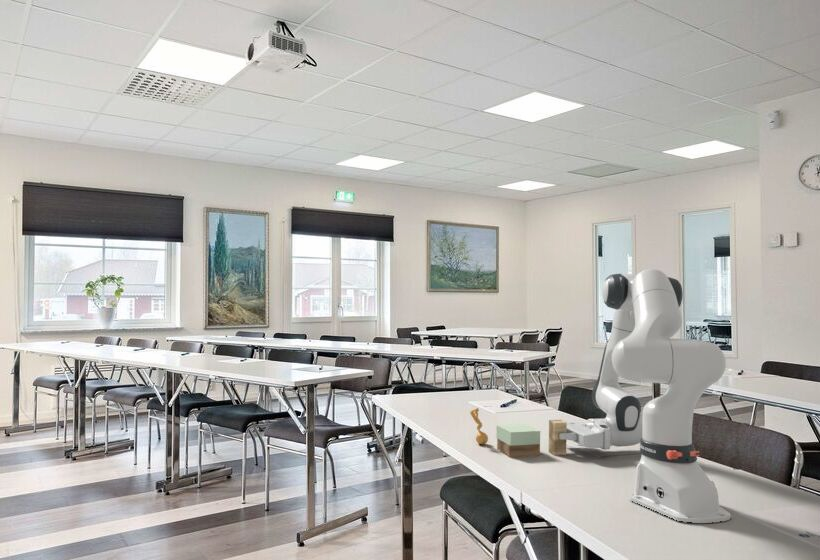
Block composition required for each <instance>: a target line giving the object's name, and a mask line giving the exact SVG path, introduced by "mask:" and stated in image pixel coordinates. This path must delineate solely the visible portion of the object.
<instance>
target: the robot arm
mask: <svg viewBox="0 0 820 560" xmlns="http://www.w3.org/2000/svg"><path fill="white" fill-rule="evenodd" d="M601 296H602V299H603V303H604V304H605V306H606V307H607V308H610V309H612V310H614V312H613V316H612V317H613V318H612V325H611V332H610V336H609V339H608V340H607V341H606V344H605V346H604V350H603V354H602V359H601V363H600V368H599V372H598V377H597V380H596V382H595V383H594V386H593V388H592V390H591V396H590V397H591V402H592V404H593V405H594V406H595V407H596V408H597V409H599V410H600V411H602V412H604V413H605V414H606V416H605V417H604V418H588V419H587V420H586V421H585V422H584V423H580V422H576V421H566V422H567V433H558V438H559V439H561V440H563V439H566V441H572V442H574V443H576V444H578V445H580V446H582V447H585V448H589V449H591V448H593V449H601V450H604V451H605V450H606V451H607V450H611V447H612V446H613V447H619V448H620V447H621V448H622V447H631V446H636V445H639V452H640V454H641V457H640V460H639V462H638V464H637V465H636V471H635V481H634V489H633V490H634V492H633V494H631V495H630V498H629V501H630V502H632V501H633V502H632V503H635V504H637V503H638V504H637V505H639V504H640V505H639V506H641V505H642V507H644V506H645V507H644V508H646V507H647V508H646V509H648V508H650V509H649V510H651V509H652V510H651V511H653V510H654V511H653V512H655V511H657V512H659V513H658V514H660V513H661V514H660V515H662V514H663V515H662V516H664V515H666V516H668V517H667V518H669V517H670V518H669V519H671V518H673V519H674V520H673V519H672V520H673V521H676V520H677V521H676V522H679V521H683V522H682V523H687V522H692V523H691V524H709V523H710V524H711V523H712V522H713V523H721V522H720V521H722V522H726V521H729V520H730V518H731V519H732V514H731V513H730V512H729V511H728V510H726V509H724V508H723V507H722V506H720V504H719V492H718V489H717V487H716V484H715V482H714V481H713V480H711V479H710V478H709V477H708V475H707V474H706V473H705V471H704V469H702V467H701V466H700V465H699V463H698V457H699V456H700V454H699V453H700V451H699V450H696V448H695V445H694V443H693V437H692V435H693V421H694V412H695V409H696V405H697V403H698V401H699V399H700V398H701V397H702V395H703V394H704V392H706V390H708V388H710V387H711V386H712V385H714V384H716V383H718V382H719V380H720V379H722V377H723V375H724V373H725V371H726V365H727V361H726V357H725V354H724V351H722V349H721V348H720V346H719V345H717V344H716V343H713V342H710V341H705V340H701V339H695V338H694V339H692V338H672V337H674V336H675V335H676V334H677V333H678V332H679V331H680V329H681V327H682V323H683V317H682V314H681V310H680V307H681V305H682V301H683V297H684V292H683V287H682V284H681V283H680V281H679V280H678V279H677V278H673V277H669V276H668V275H666V274H665V272H663V271H662V270H660V269H656V268H647V269H644V270H642V271H640V272H638V273H624V274H622V273H614V274H609V276H607V277H606V278H605V280H604V282H603V285H602V288H601ZM619 377H620V379H624V380H628V381H631V382H636V383H645V384H647V383H648V384H649V383H650V384H667V385H668V387H667V389H666V391H665V392H664V393H663V394H662V395H659V396H657V397H654V399H651V400H649V401H647V402H646V404H645V405H644V406H643V408H642V404H641V401H640V400H639V399H638V398H637V397H635V396H634V395H633V394H631V393H630V392H629V391H627V390H626V389H624V388H622V386H621V385H620V383H619V382H620V381H619ZM641 413H642V414H641ZM641 415H642V416H641ZM657 512H656V513H657ZM666 516H665V517H666Z"/></svg>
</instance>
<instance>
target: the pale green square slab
mask: <svg viewBox="0 0 820 560" xmlns="http://www.w3.org/2000/svg"><path fill="white" fill-rule="evenodd" d="M495 433H496V436H495V438H496V440H497V439H499V440H501V441H503V442H505V443H507V444H508V445H510V446H513V445H532V444H540V445H541V430H539V429H537V428H534V427H532V426H531V425H528V424H526V423H522V424H521V423H520V424H518V423H517V424H496V431H495Z"/></svg>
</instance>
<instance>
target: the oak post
mask: <svg viewBox="0 0 820 560" xmlns="http://www.w3.org/2000/svg"><path fill="white" fill-rule="evenodd" d="M567 422H568V421H565V420H562V419H549V420H548V453H549V454H551V455H553V456H566V455H567V440H566V439H563V440H561V439H559V438H558V433H567Z"/></svg>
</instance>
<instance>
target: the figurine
mask: <svg viewBox="0 0 820 560" xmlns="http://www.w3.org/2000/svg"><path fill="white" fill-rule="evenodd" d="M479 411H480V410H479V408H478V407H476V408H473V409H471V410H470V412H469V414H470V416H471V418H473V420H474V422H475V423H476V424H477V426H476V429H477V431H478V433H477V434H476V436H475V441H476V443H477V444H479V445H482V446H483V445H486V444H487V443H488V441H489V437H488V434H487V433H486V432H484V431H482V430H480V429H481V428H482V427H483V422H481V420H480V419H479Z"/></svg>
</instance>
